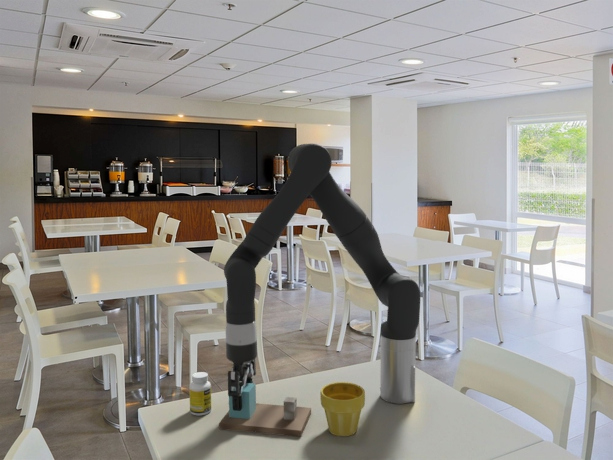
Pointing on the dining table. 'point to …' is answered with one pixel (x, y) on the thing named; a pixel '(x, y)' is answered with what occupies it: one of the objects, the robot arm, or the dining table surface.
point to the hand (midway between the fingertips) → (243, 402)
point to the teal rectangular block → (245, 402)
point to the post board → (271, 419)
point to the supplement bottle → (200, 394)
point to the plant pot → (342, 407)
